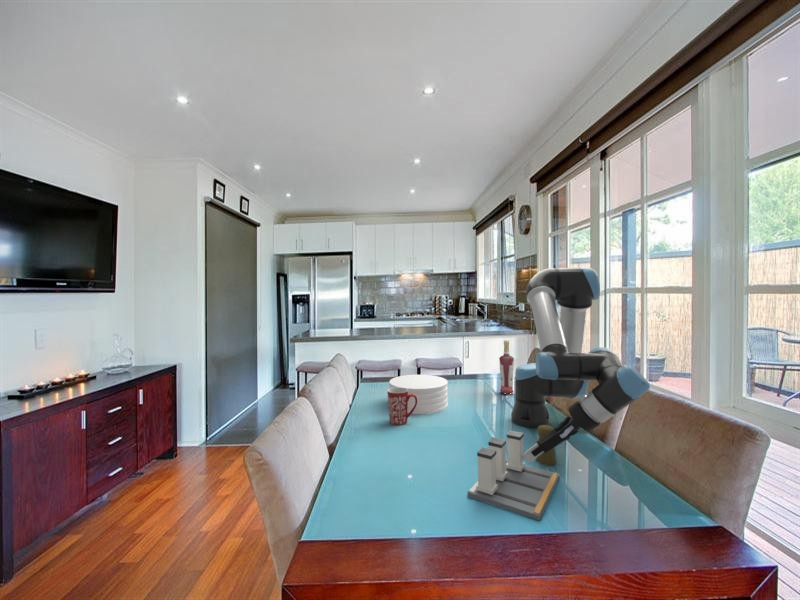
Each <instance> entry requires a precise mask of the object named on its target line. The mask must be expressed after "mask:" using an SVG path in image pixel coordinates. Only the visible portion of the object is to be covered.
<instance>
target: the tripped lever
mask: <svg viewBox="0 0 800 600" xmlns="http://www.w3.org/2000/svg"><path fill="white" fill-rule="evenodd" d="M524 436H525V434H524V432H520V431H516V430H509V432H508V433H507V434H506V438H507V461H508V462H507V464H506V468H509V469H512V470H516V471H520V472H521V471H522V470H523V468H524V467H525V465H526V462H524V458H523V456H522V454H523V453H524Z"/></svg>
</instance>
